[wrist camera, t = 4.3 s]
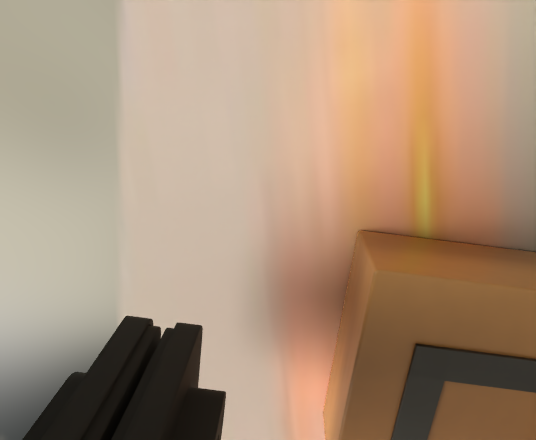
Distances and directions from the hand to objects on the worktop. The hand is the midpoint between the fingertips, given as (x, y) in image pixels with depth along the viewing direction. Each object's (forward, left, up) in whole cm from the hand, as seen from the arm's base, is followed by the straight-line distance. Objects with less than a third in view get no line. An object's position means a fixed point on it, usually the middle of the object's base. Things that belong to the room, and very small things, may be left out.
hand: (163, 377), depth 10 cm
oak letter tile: (-5, +6, -3) cm, 8 cm away
